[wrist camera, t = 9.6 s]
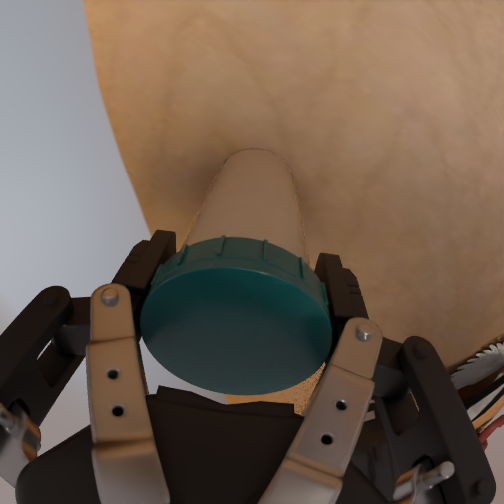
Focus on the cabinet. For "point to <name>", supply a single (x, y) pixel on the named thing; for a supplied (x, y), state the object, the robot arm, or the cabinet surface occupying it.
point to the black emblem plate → (485, 398)
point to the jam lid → (237, 317)
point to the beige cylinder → (252, 203)
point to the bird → (479, 367)
